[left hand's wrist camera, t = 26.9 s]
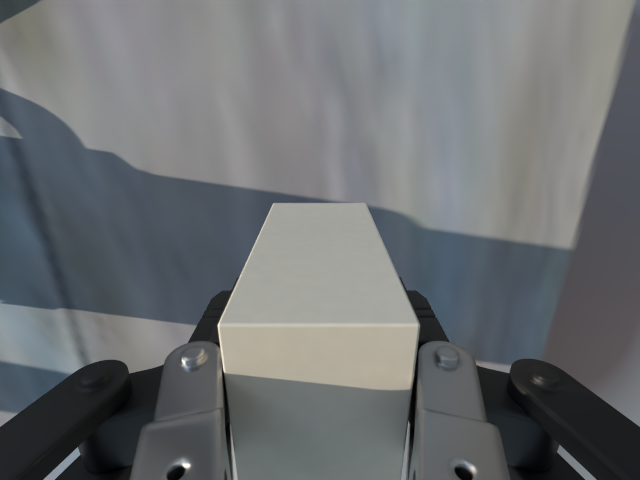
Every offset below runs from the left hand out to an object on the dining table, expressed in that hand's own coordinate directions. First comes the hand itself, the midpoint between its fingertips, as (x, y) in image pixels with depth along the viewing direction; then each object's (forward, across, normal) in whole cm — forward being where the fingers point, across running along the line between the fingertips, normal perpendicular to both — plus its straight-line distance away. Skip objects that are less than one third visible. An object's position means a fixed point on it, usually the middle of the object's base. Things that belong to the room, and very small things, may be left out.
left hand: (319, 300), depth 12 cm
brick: (+4, 0, 0) cm, 4 cm away
